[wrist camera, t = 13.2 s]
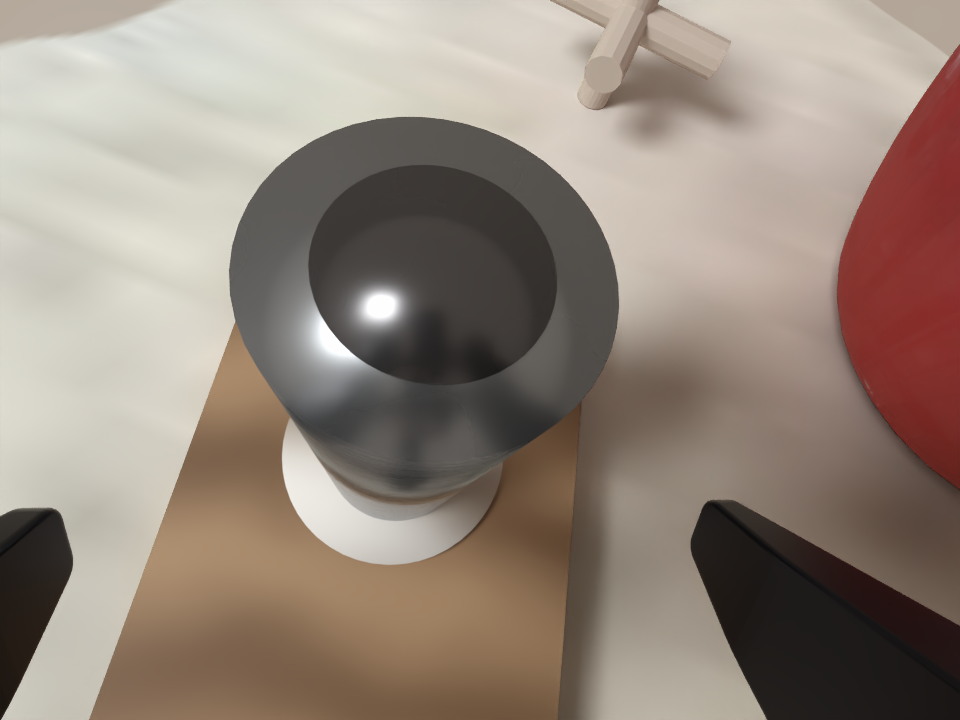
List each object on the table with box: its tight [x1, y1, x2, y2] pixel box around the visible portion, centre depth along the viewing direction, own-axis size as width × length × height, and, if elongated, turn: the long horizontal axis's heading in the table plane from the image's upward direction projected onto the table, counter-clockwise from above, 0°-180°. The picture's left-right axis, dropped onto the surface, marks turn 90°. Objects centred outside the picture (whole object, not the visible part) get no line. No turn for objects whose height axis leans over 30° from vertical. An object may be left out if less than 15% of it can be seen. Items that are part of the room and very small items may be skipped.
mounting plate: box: [89, 322, 581, 720], centre depth 19 cm, size 18×14×2 cm
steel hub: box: [229, 117, 619, 521], centre depth 12 cm, size 5×5×13 cm
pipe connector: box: [550, 0, 731, 109], centre depth 25 cm, size 10×10×10 cm
